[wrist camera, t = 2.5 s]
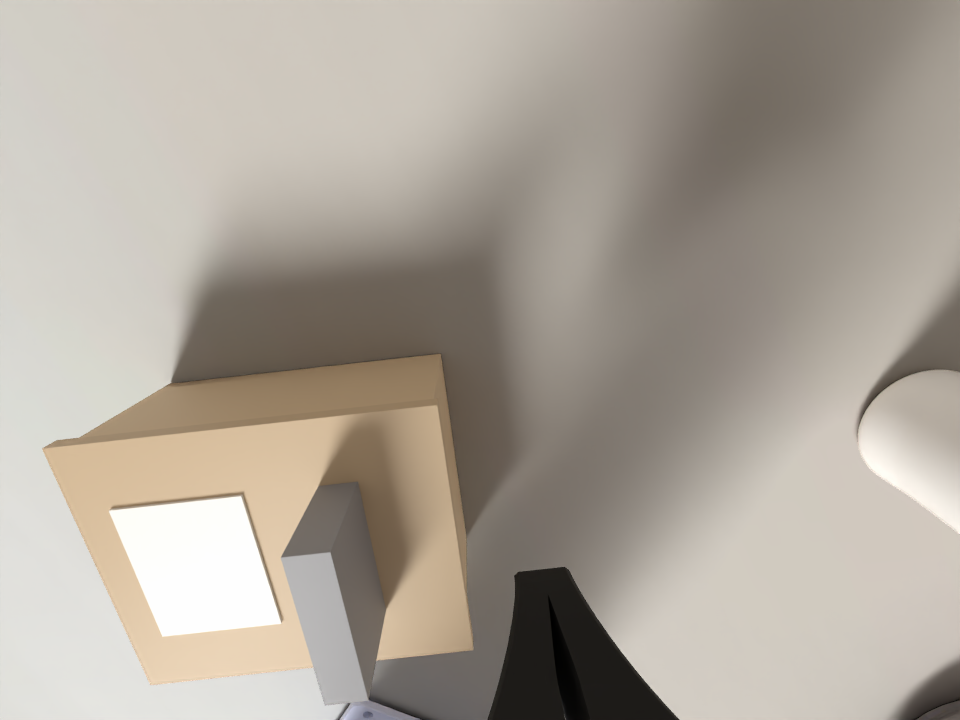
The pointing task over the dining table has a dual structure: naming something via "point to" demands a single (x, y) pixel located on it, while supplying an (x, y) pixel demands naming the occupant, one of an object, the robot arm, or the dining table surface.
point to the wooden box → (298, 402)
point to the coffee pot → (943, 712)
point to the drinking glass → (918, 440)
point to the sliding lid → (276, 542)
